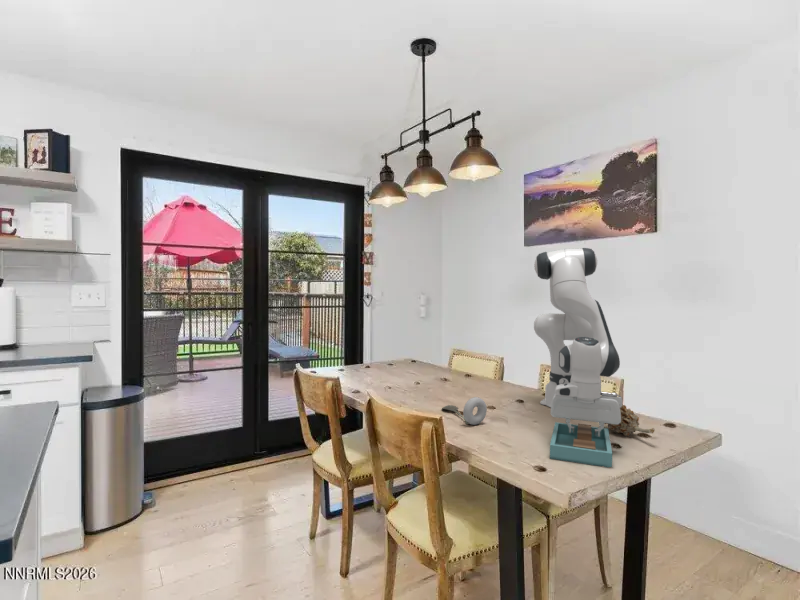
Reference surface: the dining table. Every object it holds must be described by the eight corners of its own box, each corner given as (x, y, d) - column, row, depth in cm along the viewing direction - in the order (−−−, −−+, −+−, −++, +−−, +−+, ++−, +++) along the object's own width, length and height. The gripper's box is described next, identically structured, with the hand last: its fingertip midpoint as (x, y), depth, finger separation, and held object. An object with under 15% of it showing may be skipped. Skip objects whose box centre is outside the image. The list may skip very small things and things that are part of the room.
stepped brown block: (574, 438, 147) (574, 423, 147) (594, 440, 145) (594, 425, 145) (572, 456, 132) (573, 439, 131) (595, 459, 129) (595, 442, 129)
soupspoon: (454, 410, 185) (439, 412, 184) (454, 402, 185) (439, 403, 184) (476, 424, 164) (459, 426, 162) (476, 415, 164) (459, 417, 162)
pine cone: (592, 428, 160) (593, 400, 160) (613, 425, 164) (614, 398, 164) (647, 449, 140) (647, 417, 140) (669, 445, 143) (670, 414, 143)
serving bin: (554, 433, 154) (555, 422, 153) (607, 440, 147) (608, 428, 147) (549, 458, 131) (550, 445, 131) (611, 467, 125) (612, 453, 125)
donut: (467, 428, 159) (467, 399, 158) (460, 425, 161) (461, 397, 161) (488, 423, 164) (489, 396, 163) (482, 421, 167) (482, 394, 166)
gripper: (621, 391, 139) (620, 435, 139) (551, 385, 146) (550, 427, 147) (623, 395, 133) (622, 442, 133) (550, 389, 141) (549, 432, 141)
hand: (584, 434), depth 140 cm, fingers open, 6 cm apart
